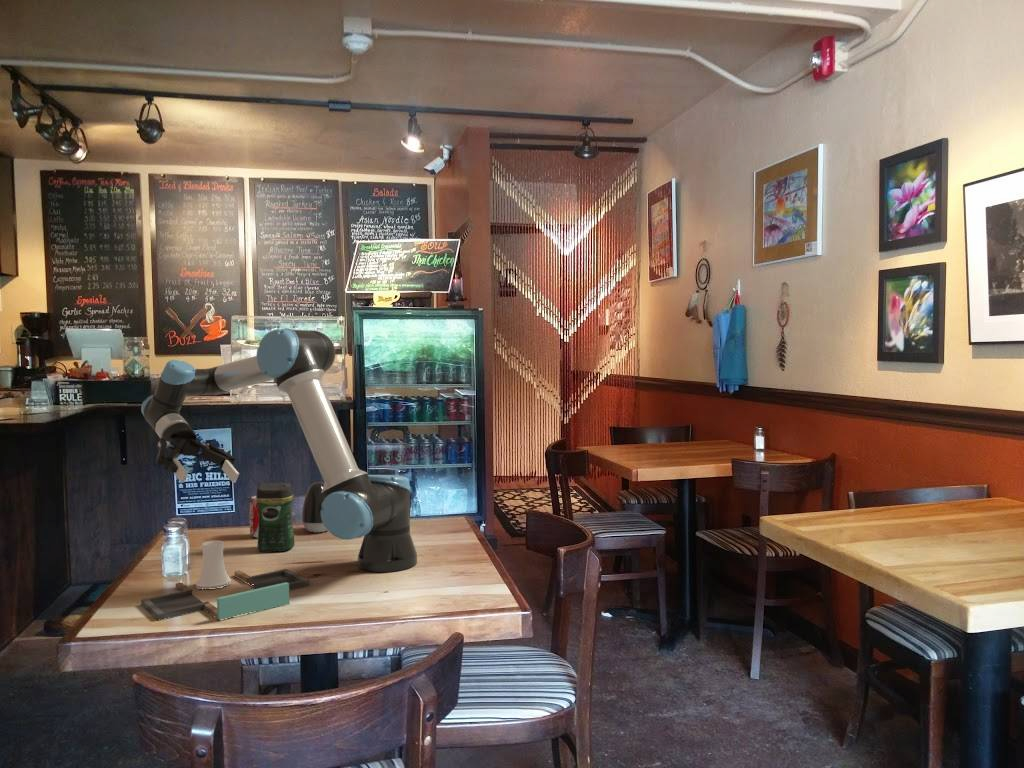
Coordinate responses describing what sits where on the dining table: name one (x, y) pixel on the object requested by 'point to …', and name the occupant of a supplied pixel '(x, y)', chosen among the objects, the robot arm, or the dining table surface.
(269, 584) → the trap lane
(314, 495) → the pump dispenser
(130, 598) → the dining table surface
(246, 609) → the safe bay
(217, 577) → the vase
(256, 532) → the soda can
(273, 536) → the coffee jar
